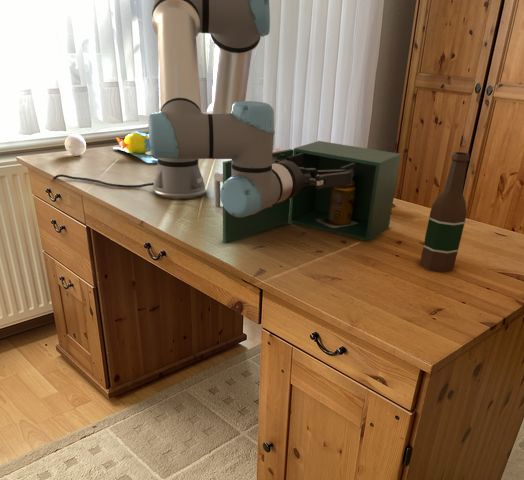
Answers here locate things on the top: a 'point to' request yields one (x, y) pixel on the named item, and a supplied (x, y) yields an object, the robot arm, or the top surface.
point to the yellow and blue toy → (137, 146)
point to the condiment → (340, 206)
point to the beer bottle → (446, 220)
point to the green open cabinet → (366, 185)
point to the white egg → (75, 145)
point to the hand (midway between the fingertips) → (326, 164)
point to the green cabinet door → (255, 222)
